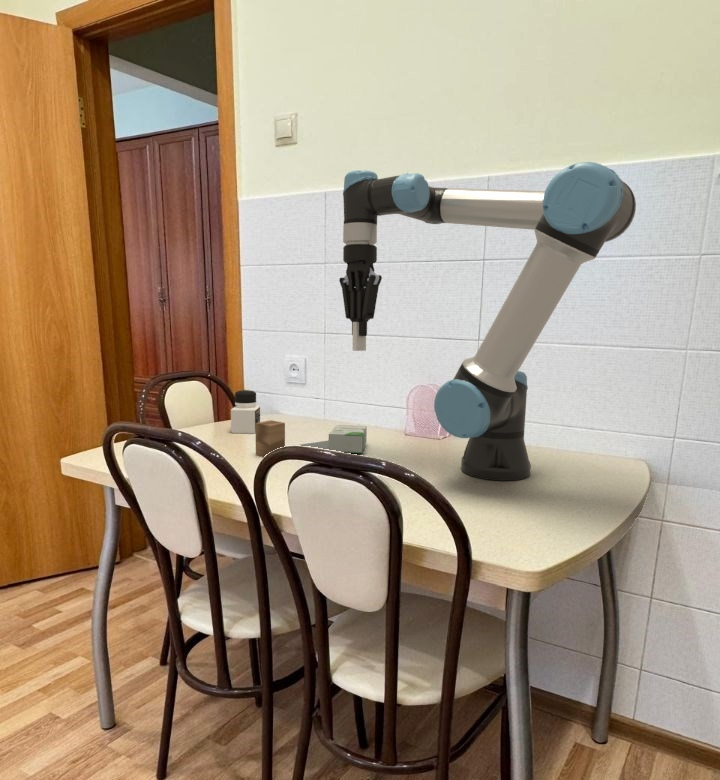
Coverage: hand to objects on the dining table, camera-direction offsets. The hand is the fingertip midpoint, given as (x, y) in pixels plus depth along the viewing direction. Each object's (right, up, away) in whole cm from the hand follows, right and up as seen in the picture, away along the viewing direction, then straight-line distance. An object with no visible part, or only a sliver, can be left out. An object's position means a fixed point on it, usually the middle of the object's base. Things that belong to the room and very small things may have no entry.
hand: (359, 350), depth 128 cm
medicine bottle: (-33, -21, +36) cm, 54 cm away
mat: (-10, -24, +15) cm, 30 cm away
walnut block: (-22, -25, +9) cm, 34 cm away
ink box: (-3, -22, +10) cm, 24 cm away
